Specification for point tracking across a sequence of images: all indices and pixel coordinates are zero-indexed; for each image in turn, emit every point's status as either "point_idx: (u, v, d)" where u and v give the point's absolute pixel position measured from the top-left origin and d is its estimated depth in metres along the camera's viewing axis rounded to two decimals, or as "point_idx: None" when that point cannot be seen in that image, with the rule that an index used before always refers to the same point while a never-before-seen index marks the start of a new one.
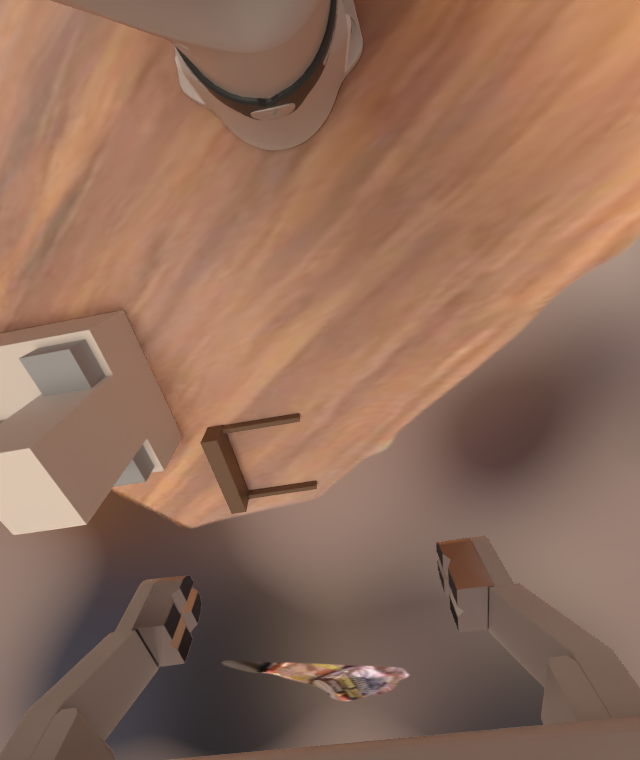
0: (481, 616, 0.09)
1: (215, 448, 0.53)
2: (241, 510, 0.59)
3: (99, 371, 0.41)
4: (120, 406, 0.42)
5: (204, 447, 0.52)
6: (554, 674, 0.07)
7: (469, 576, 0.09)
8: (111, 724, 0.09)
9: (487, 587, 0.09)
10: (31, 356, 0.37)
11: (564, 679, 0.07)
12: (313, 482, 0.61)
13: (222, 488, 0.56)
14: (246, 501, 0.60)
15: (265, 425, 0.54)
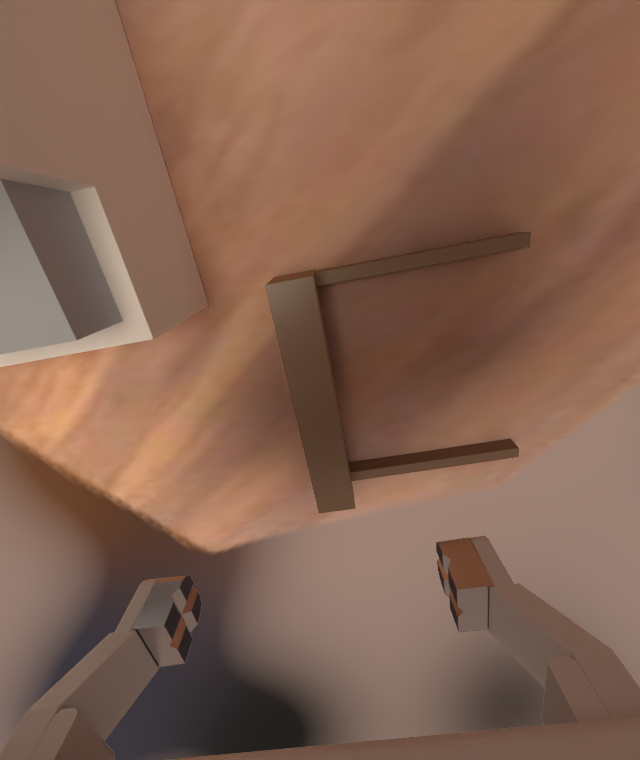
0: (481, 616, 0.09)
1: (305, 307, 0.18)
2: (344, 505, 0.24)
3: None
4: None
5: (274, 302, 0.18)
6: (554, 674, 0.07)
7: (469, 576, 0.09)
8: (111, 724, 0.09)
9: (487, 587, 0.09)
10: None
11: (564, 679, 0.07)
12: (506, 442, 0.26)
13: (306, 440, 0.22)
14: None
15: (434, 258, 0.20)
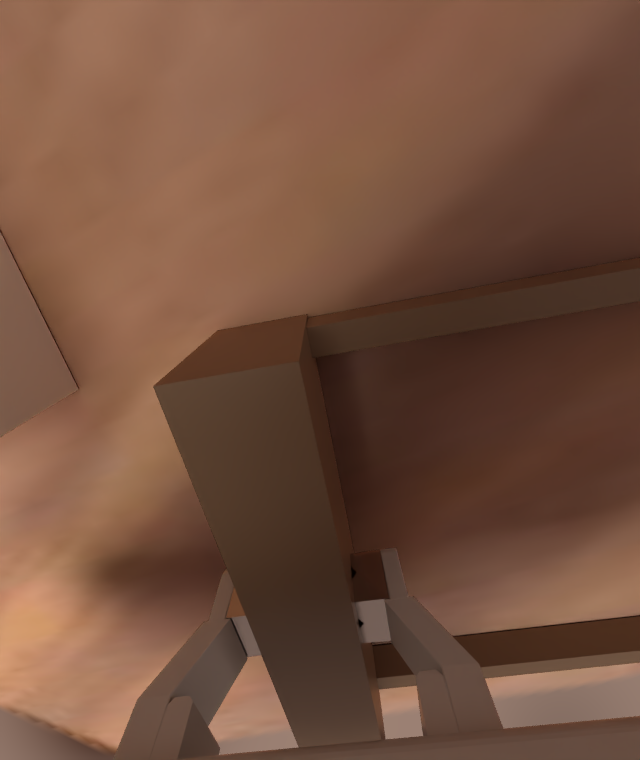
0: (381, 628, 0.09)
1: (279, 444, 0.06)
2: None
3: None
4: None
5: (186, 430, 0.06)
6: (418, 688, 0.07)
7: (369, 588, 0.09)
8: (210, 714, 0.09)
9: (383, 600, 0.09)
10: None
11: (426, 693, 0.07)
12: None
13: (289, 698, 0.10)
14: (381, 719, 0.13)
15: (606, 294, 0.08)
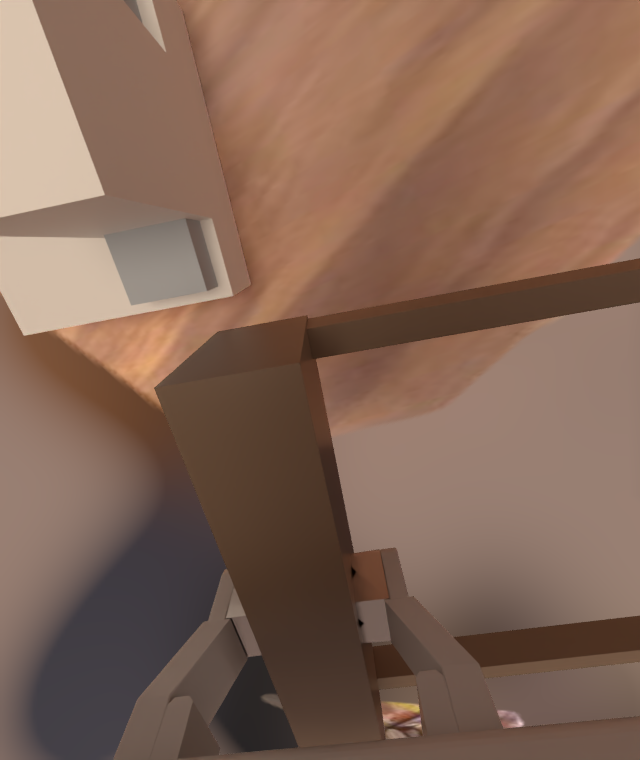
0: (381, 628, 0.09)
1: (280, 446, 0.06)
2: None
3: None
4: (176, 112, 0.22)
5: (187, 432, 0.06)
6: (418, 688, 0.07)
7: (369, 588, 0.09)
8: (210, 714, 0.09)
9: (383, 600, 0.09)
10: None
11: (427, 693, 0.07)
12: None
13: (290, 699, 0.10)
14: (382, 720, 0.13)
15: (605, 295, 0.08)
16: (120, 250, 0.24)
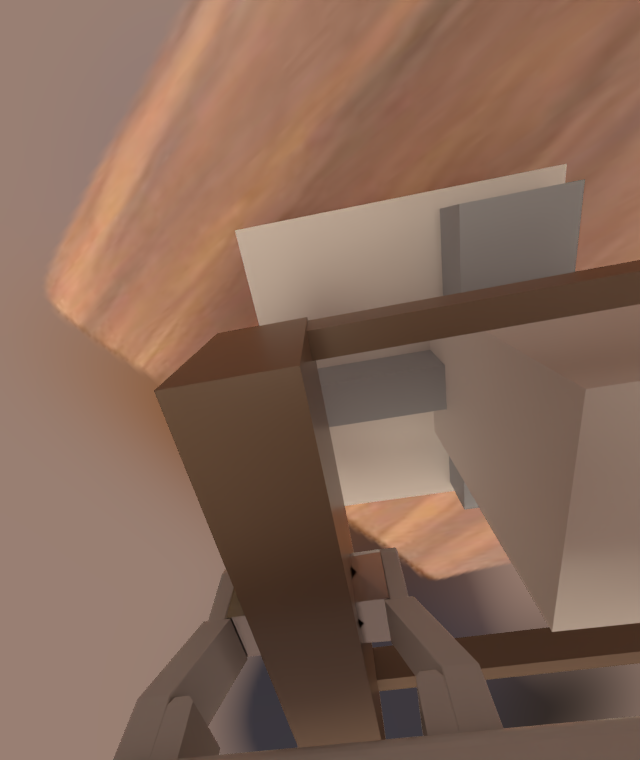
0: (381, 628, 0.09)
1: (279, 448, 0.06)
2: None
3: None
4: None
5: (187, 434, 0.06)
6: (418, 688, 0.07)
7: (369, 588, 0.09)
8: (211, 714, 0.09)
9: (383, 600, 0.09)
10: (488, 199, 0.17)
11: (426, 693, 0.07)
12: None
13: (290, 701, 0.10)
14: (382, 721, 0.13)
15: (605, 297, 0.08)
16: None
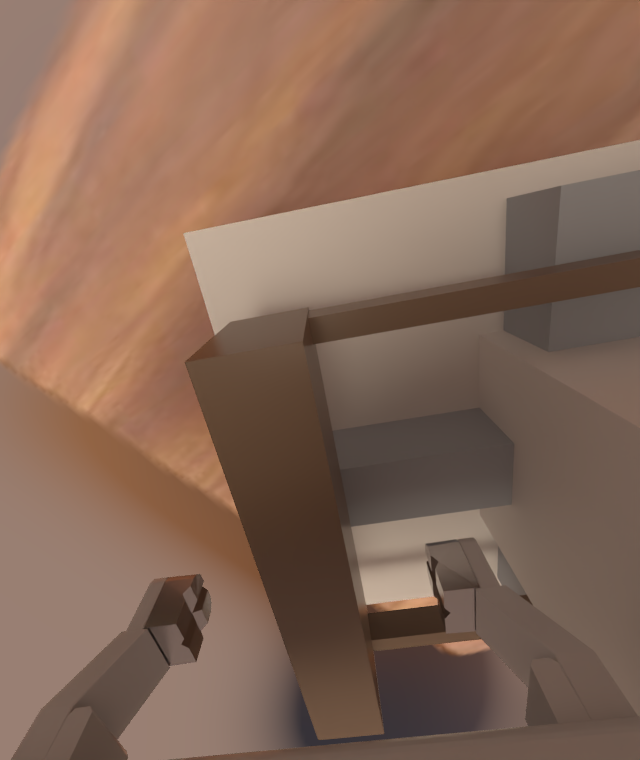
0: (468, 617, 0.09)
1: (286, 411, 0.08)
2: (364, 729, 0.13)
3: None
4: None
5: (210, 399, 0.08)
6: (536, 676, 0.07)
7: (456, 578, 0.09)
8: (124, 723, 0.09)
9: (473, 589, 0.09)
10: (612, 177, 0.10)
11: (546, 681, 0.07)
12: None
13: (293, 642, 0.11)
14: (375, 675, 0.14)
15: (563, 289, 0.09)
16: None
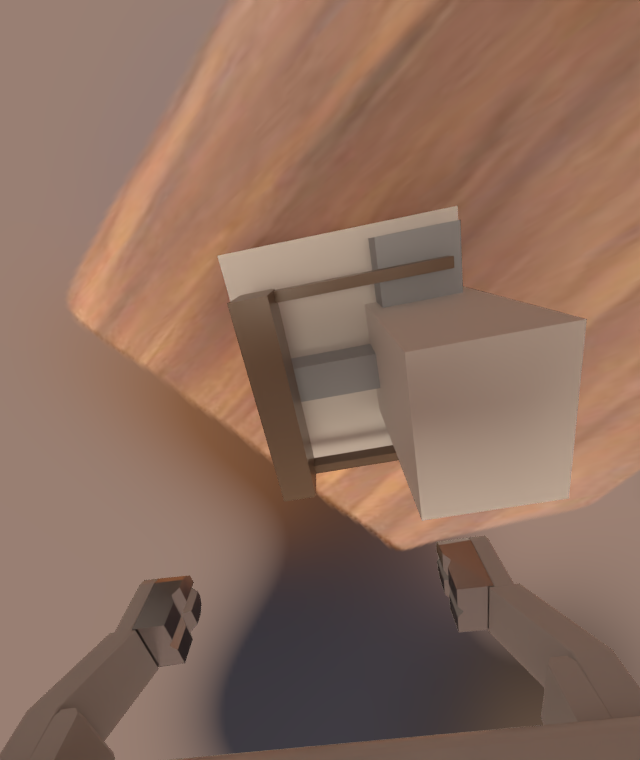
0: (481, 616, 0.09)
1: (262, 321, 0.22)
2: (306, 493, 0.27)
3: None
4: None
5: (235, 317, 0.22)
6: (554, 674, 0.07)
7: (469, 576, 0.09)
8: (111, 724, 0.09)
9: (487, 587, 0.09)
10: (394, 234, 0.24)
11: (564, 679, 0.07)
12: None
13: (269, 435, 0.25)
14: (314, 476, 0.28)
15: (374, 278, 0.23)
16: None
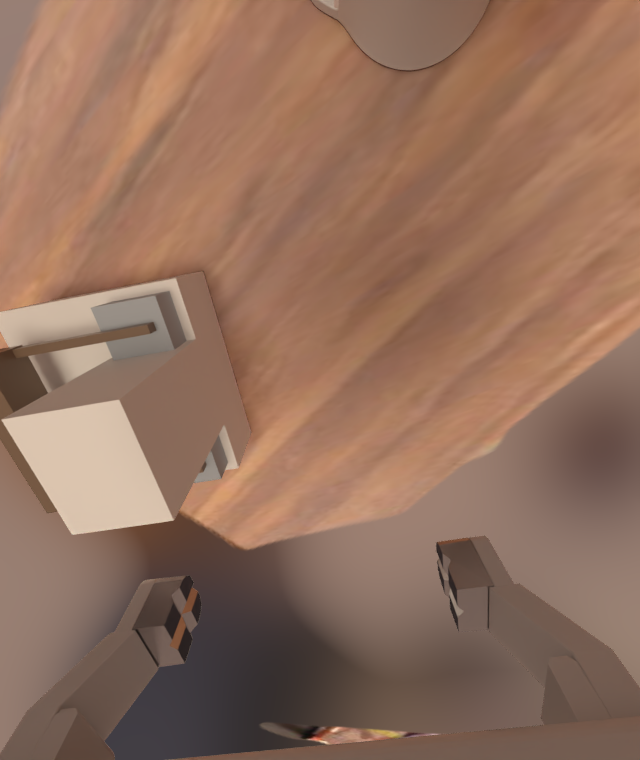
0: (481, 616, 0.09)
1: None
2: None
3: (181, 332, 0.33)
4: (202, 378, 0.34)
5: None
6: (554, 674, 0.07)
7: (469, 576, 0.09)
8: (111, 724, 0.09)
9: (487, 587, 0.09)
10: (106, 305, 0.30)
11: (564, 679, 0.07)
12: None
13: (17, 462, 0.31)
14: None
15: (89, 341, 0.30)
16: None
